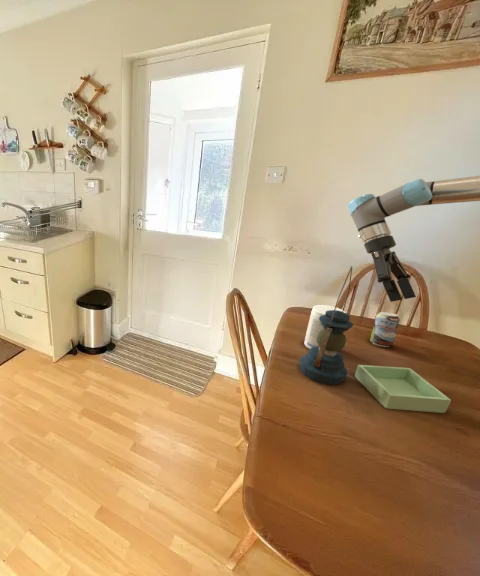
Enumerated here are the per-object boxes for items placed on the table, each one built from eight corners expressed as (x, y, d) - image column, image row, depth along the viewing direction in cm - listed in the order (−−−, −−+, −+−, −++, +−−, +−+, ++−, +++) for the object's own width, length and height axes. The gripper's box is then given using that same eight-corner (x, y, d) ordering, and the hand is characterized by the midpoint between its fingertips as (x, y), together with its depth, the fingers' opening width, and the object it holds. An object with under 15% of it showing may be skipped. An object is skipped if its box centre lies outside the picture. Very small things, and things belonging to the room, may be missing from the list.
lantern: (336, 394, 88) (373, 277, 75) (290, 374, 97) (317, 267, 84) (350, 373, 96) (386, 265, 84) (307, 357, 105) (334, 257, 92)
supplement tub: (342, 356, 105) (354, 317, 100) (312, 355, 106) (323, 316, 101) (325, 341, 114) (335, 304, 109) (298, 340, 115) (307, 304, 110)
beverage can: (375, 348, 109) (385, 318, 104) (363, 338, 115) (373, 308, 111) (396, 350, 107) (408, 319, 103) (383, 339, 114) (394, 310, 110)
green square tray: (404, 380, 93) (409, 367, 91) (444, 414, 80) (451, 400, 79) (353, 377, 95) (358, 364, 93) (385, 409, 82) (390, 395, 81)
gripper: (377, 244, 115) (401, 299, 110) (348, 242, 102) (375, 305, 97) (403, 235, 109) (430, 293, 104) (377, 232, 96) (406, 298, 91)
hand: (403, 299), depth 100 cm, fingers open, 13 cm apart
